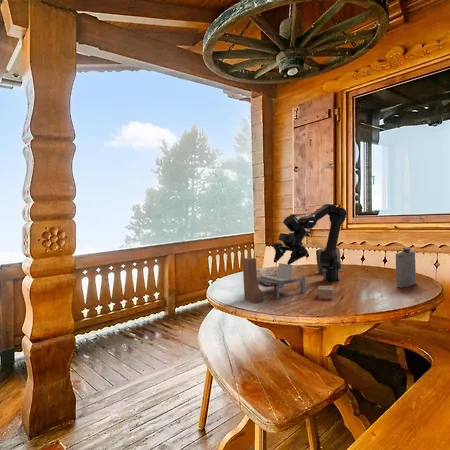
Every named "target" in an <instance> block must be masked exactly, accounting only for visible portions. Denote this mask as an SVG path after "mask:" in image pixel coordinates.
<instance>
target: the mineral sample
mask: <svg viewBox="0 0 450 450" xmlns="http://www.w3.org/2000/svg"><path fill="white" fill-rule="evenodd" d="M325 249H326V247H325V248H318V249H315V255H316V256H315V257H316V258H315V259H316V266H317V267H316V270H317V274H323V275H324V268H322V267H321V263H320V254H321V251H324V250H325ZM336 254H337V261H338V262H339V263H340V264H341V268H340V269H339V270H338V273H339V272H341V271H342V270H343V268H342V261H341V251H340V249H339V247H338V246H336Z"/></svg>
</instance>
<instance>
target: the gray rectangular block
mask: <svg viewBox="0 0 450 450" xmlns="http://www.w3.org/2000/svg"><path fill="white" fill-rule="evenodd" d="M292 271H293V265H292V264H290V265H288V264H287V263H281V262H279V263H278V267H277V273H278V274H277V273H276V274H277V278H280V279H286V280H290V279H292Z"/></svg>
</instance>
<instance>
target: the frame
mask: <svg viewBox="0 0 450 450" xmlns="http://www.w3.org/2000/svg"><path fill="white" fill-rule="evenodd" d="M277 274H278V272H276V273H273V274H272V273H271V274H268V275H266V276H271V277H277ZM264 276H265V275H263V276H261V277H264ZM261 277H257V284H258V287H259V283H262V284H264V283H266V284H270V285H269V286H273V291H274V292H273V293H274V296H273V297H274V300H280V297H281V296H280V288H284V287H285V285H288V284H292V283H295V282H297V283H298V282H300V283H299V284H300V286H299V287H300V293H302V294H304V293H306V277H305V276H299V277H296V278H291V279H290V280H285V281H280V282H273V281H269V280H265V279H261ZM259 288H260V287H259Z"/></svg>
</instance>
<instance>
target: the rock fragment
mask: <svg viewBox="0 0 450 450" xmlns="http://www.w3.org/2000/svg"><path fill="white" fill-rule="evenodd" d="M261 273H262V271H261V270H260V269H257V277H261V276H264V275H262V274H261ZM263 284H264V285H266V286H271V285H270V284H266V283H263Z"/></svg>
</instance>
